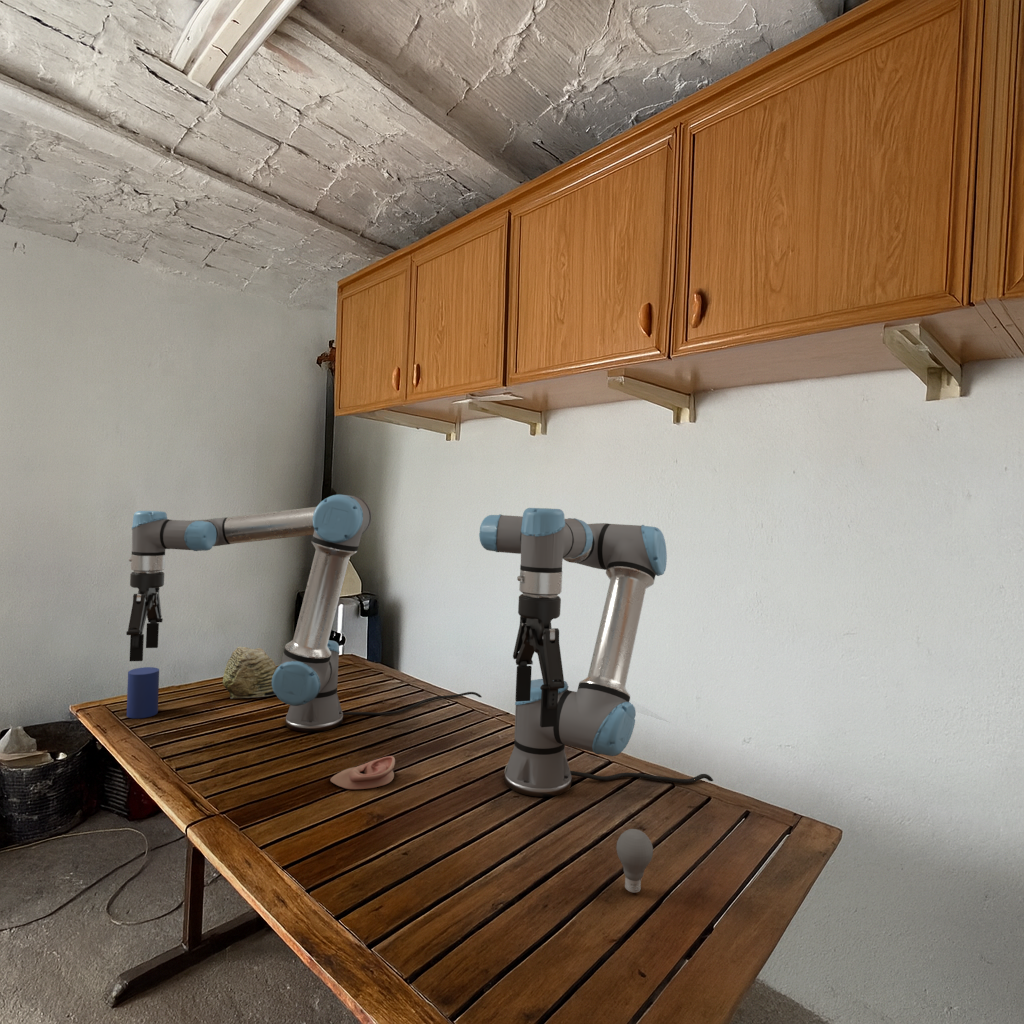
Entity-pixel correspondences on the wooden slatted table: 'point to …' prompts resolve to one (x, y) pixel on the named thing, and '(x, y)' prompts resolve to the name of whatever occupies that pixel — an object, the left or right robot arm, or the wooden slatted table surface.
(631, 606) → the right robot arm
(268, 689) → the fossil
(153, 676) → the canister
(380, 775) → the anatomical model
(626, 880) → the light bulb
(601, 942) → the wooden slatted table surface
